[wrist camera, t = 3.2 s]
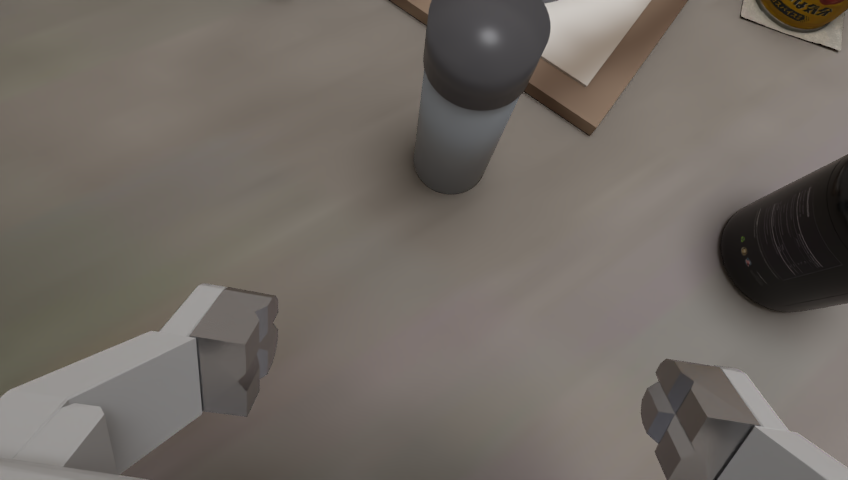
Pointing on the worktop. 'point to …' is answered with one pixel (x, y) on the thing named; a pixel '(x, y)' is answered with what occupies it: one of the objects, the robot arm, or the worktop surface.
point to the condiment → (801, 18)
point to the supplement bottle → (793, 243)
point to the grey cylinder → (473, 84)
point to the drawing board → (589, 52)
